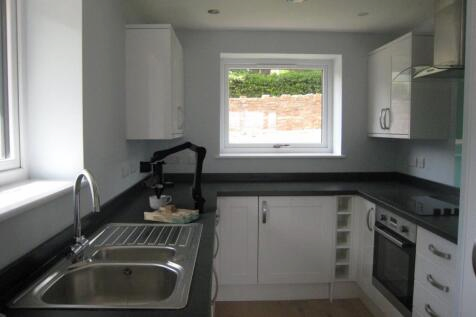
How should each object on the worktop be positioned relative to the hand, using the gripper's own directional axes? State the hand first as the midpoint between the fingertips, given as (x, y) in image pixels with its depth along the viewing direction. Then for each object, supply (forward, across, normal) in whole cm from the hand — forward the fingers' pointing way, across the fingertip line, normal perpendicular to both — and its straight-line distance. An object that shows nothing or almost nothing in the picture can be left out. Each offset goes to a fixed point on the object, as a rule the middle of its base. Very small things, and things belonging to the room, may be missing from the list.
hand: (158, 199), depth 216 cm
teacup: (+10, -11, +16) cm, 22 cm away
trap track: (+10, +11, -3) cm, 15 cm away
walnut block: (+7, +8, 0) cm, 11 cm away
